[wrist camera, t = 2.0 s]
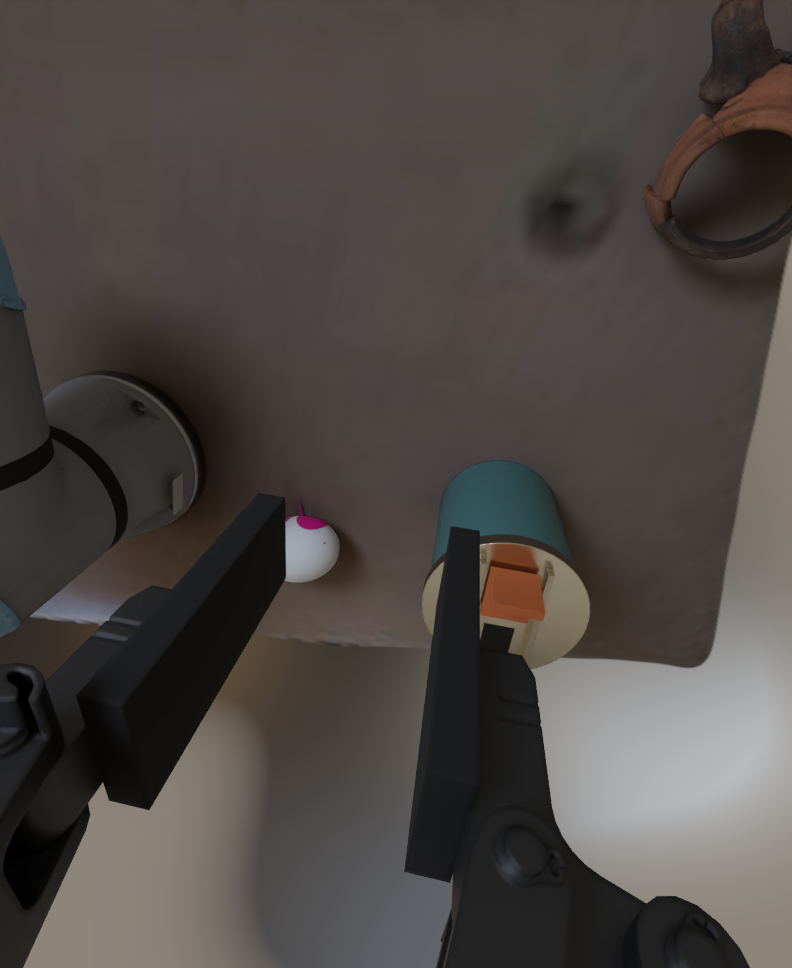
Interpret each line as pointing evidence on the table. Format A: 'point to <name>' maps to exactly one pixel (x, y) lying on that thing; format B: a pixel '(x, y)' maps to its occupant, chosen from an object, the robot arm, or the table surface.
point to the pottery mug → (729, 121)
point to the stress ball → (309, 548)
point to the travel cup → (514, 557)
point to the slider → (513, 596)
